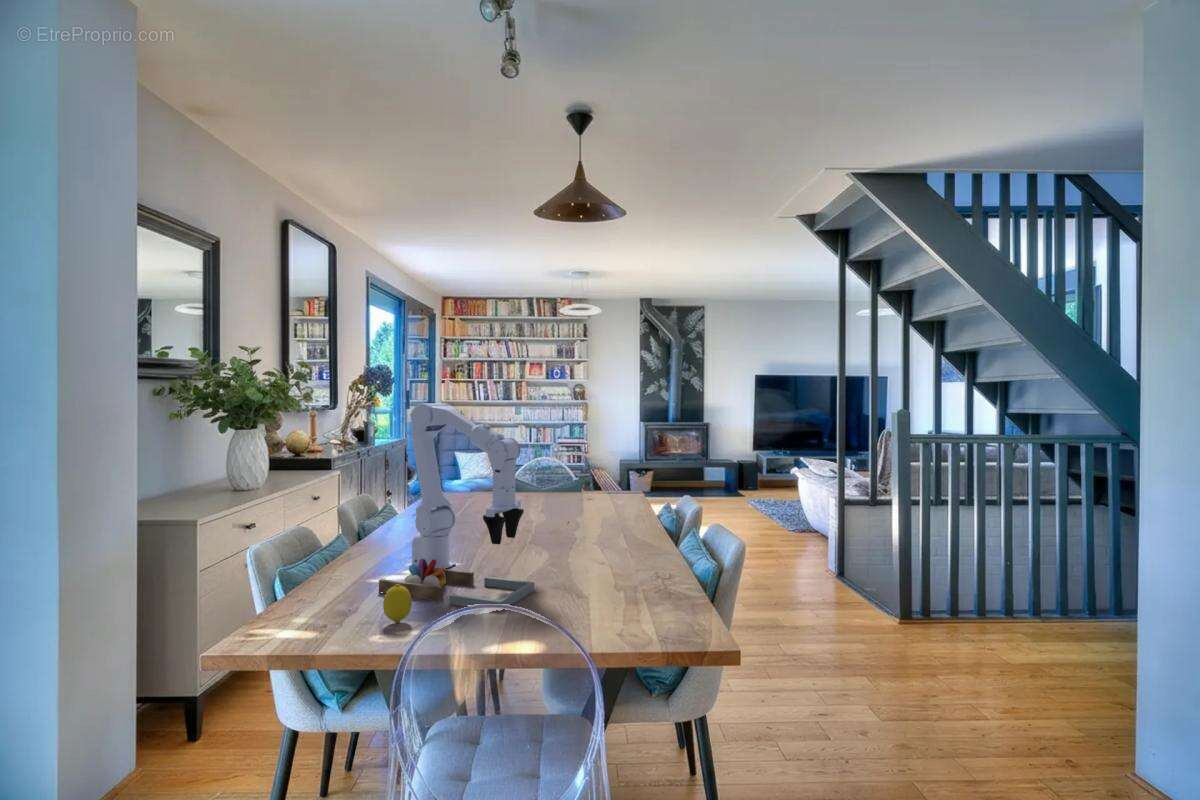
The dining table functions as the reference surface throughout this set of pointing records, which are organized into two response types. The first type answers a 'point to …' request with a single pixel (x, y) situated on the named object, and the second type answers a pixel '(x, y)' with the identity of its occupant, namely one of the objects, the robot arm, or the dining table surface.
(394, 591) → the lemon
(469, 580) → the lane rails
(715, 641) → the dining table surface
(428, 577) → the multicolored rounded disc cluster
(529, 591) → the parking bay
